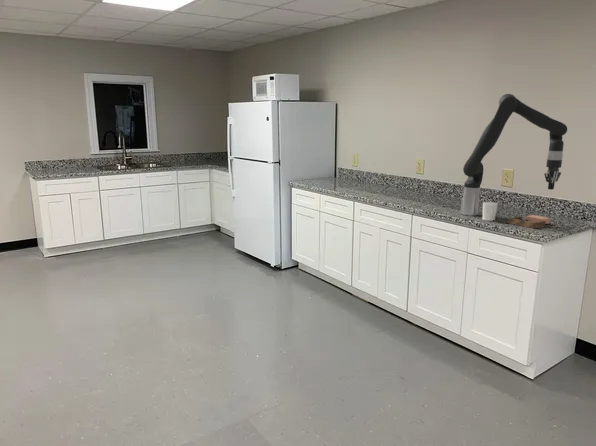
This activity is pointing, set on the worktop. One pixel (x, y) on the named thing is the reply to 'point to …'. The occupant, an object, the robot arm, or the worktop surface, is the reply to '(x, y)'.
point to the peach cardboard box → (537, 219)
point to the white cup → (489, 211)
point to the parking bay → (526, 223)
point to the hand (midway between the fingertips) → (550, 189)
